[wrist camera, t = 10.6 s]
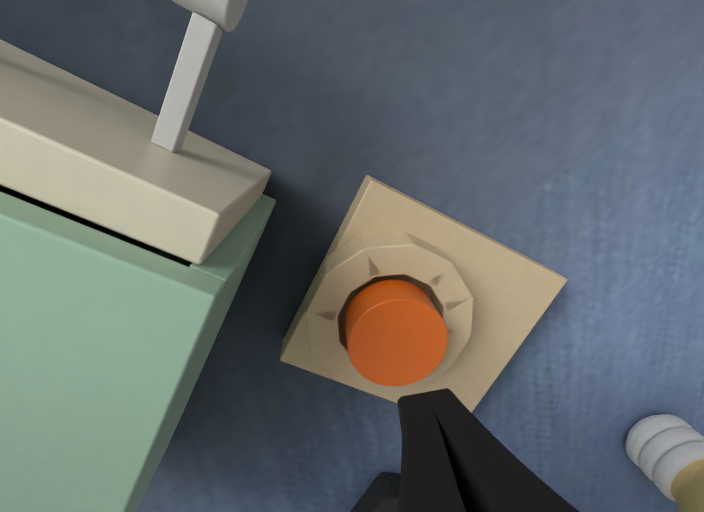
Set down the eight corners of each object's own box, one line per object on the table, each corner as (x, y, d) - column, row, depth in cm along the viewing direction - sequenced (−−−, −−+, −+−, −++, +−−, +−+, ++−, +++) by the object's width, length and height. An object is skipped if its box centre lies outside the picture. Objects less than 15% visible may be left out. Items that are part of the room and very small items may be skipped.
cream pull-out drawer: (-10, -141, 11) (-714, -714, 3) (323, 51, 13) (326, -45, 6) (-91, 343, 16) (-457, 536, 8) (164, 421, 18) (56, 624, 11)
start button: (329, 340, 15) (330, 367, 13) (371, 264, 14) (377, 283, 12) (406, 370, 15) (416, 399, 14) (451, 300, 14) (467, 322, 13)
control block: (277, 338, 18) (267, 385, 15) (361, 171, 16) (371, 182, 12) (450, 403, 20) (476, 458, 17) (546, 266, 18) (598, 297, 14)
